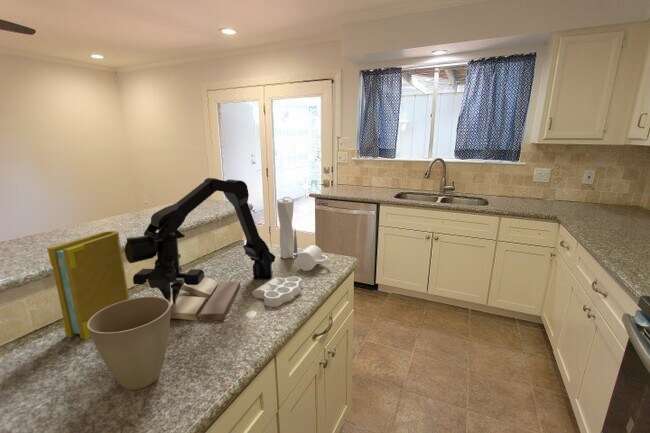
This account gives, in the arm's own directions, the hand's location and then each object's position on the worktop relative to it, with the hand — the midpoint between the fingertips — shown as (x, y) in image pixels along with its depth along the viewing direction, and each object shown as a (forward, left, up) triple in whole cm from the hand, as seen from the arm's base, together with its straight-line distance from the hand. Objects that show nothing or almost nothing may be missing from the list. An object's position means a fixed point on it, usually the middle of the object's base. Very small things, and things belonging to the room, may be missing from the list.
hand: (171, 302), depth 96 cm
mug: (-44, -34, -4) cm, 56 cm away
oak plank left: (-3, 0, -2) cm, 4 cm away
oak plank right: (-4, -12, -1) cm, 13 cm away
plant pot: (-5, +28, -3) cm, 29 cm away
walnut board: (-13, -6, -3) cm, 15 cm away
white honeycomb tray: (-32, -11, -4) cm, 34 cm away
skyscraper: (-32, -48, -3) cm, 58 cm away
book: (+18, +4, -3) cm, 19 cm away
